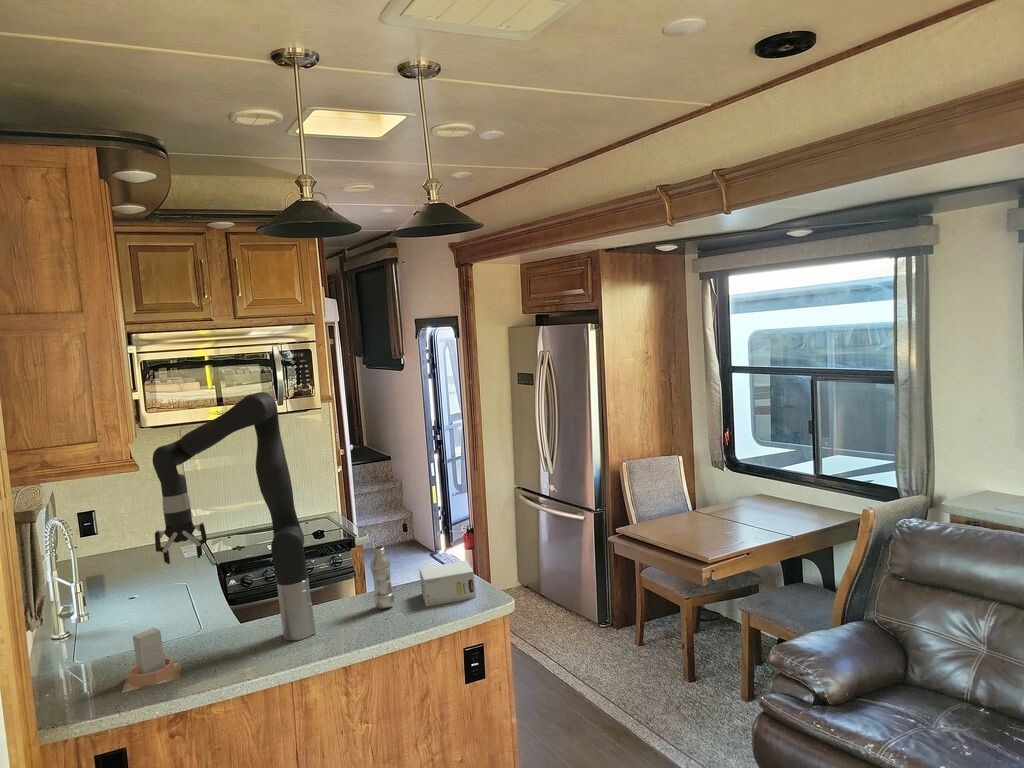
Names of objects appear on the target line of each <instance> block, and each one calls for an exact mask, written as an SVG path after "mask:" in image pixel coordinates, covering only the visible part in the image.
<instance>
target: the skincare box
mask: <svg viewBox="0 0 1024 768" xmlns="http://www.w3.org/2000/svg"><path fill="white" fill-rule="evenodd" d="M132 642H133V648H134V654H135V655H134V656H135V660H136V665H137V668H138V674H147V673H151V672H155V671H157V670H159V669H162V668H164V667H165V666H166V665H165V658H164V657H165V653H164V646H163V640H162V632H161V630H160V629H157V628H156V627H152V628H149V629H147V630H144V631H141V632H139V633H136V634H133V635H132Z"/></svg>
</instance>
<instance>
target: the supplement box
mask: <svg viewBox="0 0 1024 768" xmlns="http://www.w3.org/2000/svg"><path fill="white" fill-rule="evenodd" d="M419 579H420V588H421V594H422V598H423V602H424V604H425V605H424V606H425V607H431V606H432V607H433V606H438V605H444V604H448V603H452V602H458V601H460V602H461V601H464V600H469V599H476V598H477V592H476V584H475V582H476V581H475V575H474V570H473V568H472V566H471V565H470V563H469V562H468V560H463V561H461V560H460V561H457V562H456V561H455V562H451V563H450V562H449V563H444V564H440V565H433V566H426V567H419Z"/></svg>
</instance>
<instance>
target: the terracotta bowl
mask: <svg viewBox="0 0 1024 768" xmlns="http://www.w3.org/2000/svg"><path fill="white" fill-rule="evenodd" d="M164 658H165V665H166V666H165V667H164V668H162V669H159V670H157V671H155V672H151V673H147V674H138V668H137V664H135V665H133V667H131V668H129V672H128V674H129V681H130V684H131V685H133V686H135V687H137V686H148V685H152V684H156V683H159V682H161V681H163V680H165V679H168V678H169V677H170V676H171V675H173V674H174V671H175V666H174V663H175V661H174V658H173V657H170V656H164ZM156 685H157V684H156ZM152 686H153V685H152ZM148 687H149V686H148Z"/></svg>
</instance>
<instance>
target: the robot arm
mask: <svg viewBox="0 0 1024 768" xmlns="http://www.w3.org/2000/svg"><path fill="white" fill-rule="evenodd" d="M278 412H279V411H278V406H277V402H276V400H275V398H274V397H273V396H272V395H271V394H270V393H268V392H266V391H259V392H258V391H257V392H255V393H251V394H250V393H249V394H247V395H246V396H244V397H243V398H242V399H241V400H239V401H238V402H237V403H235V404H234V405H233V406H232V407H230V409H228V410H227V411H225V412H223V413H222V414H221V415H219V416H216V418H214V419H211V420H210V421H207V422H206V423H204V424H202V425H200V426H198V427H196V428H194V429H192V430H190V431H189V432H187V433H186V434H184V435H183V436H181V438H180V439H178V440H176V441H174V442H171V443H168V444H164V445H161V446H158V447H157V448H155V450H154V451H153V453H152V466H153V469H154V471H155V473H156V476H157V478H158V481H159V482H160V488H161V495H162V512H163V517H164V525H165V530H156V531H155V533H154V541H155V542H154V543H155V551H156V552H157V553H158V552H161V553H162V554H163V561H164V563H165V564H167V565H170V564H171V558H170V550H169V548H170V547H171V545H172V544H173V543H175V544H176V543H181V542H187V541H188V540H189V541H190V542H191V543H194V545H195V546H196V547H195V548H196V555H197V559H201V556H203V548H202V545H204V544H206V543H207V541H208V538H207V533H206V528H205V523H204V522H200V523H198V524H194V523H193V516H192V515H193V514H192V509H191V507H192V506H191V501H190V496H189V493H188V486H187V479H186V476H185V475H184V474H181V473H179V471H178V468H177V466H180V465H182V464H183V463H185V462H188V460H190V459H192V458H193V457H195V456H196V455H198V454H201V453H203V452H204V451H206V450H208V449H210V448H212V447H213V446H215V445H217V444H218V443H219V442H221V441H222V440H223V439H225V438H226V437H228V436H229V435H232V434H233V433H235V432H237V431H240V430H242V429H245V428H248V427H249V428H250V427H252V426H253V427H254V431H255V434H256V439H257V442H256V443H257V445H256V454H255V455H256V456H255V457H256V458H255V472H256V477H257V482H258V487H259V490H260V492H261V495H262V498H263V501H264V502H265V505H266V506H267V508H268V511H269V514H270V518H271V523H272V531H273V532H272V533H273V538H272V540H271V543H270V544H271V545H270V549H271V550H270V551H271V558H272V565H273V571H274V576H275V579H276V580H275V581H276V587H277V588H276V589H277V595H278V603H279V610H280V611H279V612H280V618H281V619H280V620H281V627H282V636H283V639H284V640H285V639H286V641H289V640H290V641H291V642H292V640H293V641H300V640H304V639H306V638H309V637H310V636H313V635H317V634H316V625H315V618H314V617H315V616H314V609H313V603H312V599H311V590H310V581H309V573H308V572H309V571H308V567H307V564H306V558H305V557H306V556H305V549H304V548H305V547H304V545H305V535H304V533H303V530H302V527H301V525H300V521H299V519H298V515H297V512H296V508H295V503H294V501H295V499H294V493H293V485H292V479H291V474H290V470H289V465H288V462H287V458H286V454H285V449H284V444H283V441H282V437H281V430H280V421H279V413H278ZM196 530H197V531H198V532H200V536H201V539H199V538H198V537H197V536H196V535H195V534H193V533H194V531H196ZM163 536H165V537H167V538H168V540H167V541H166V543H165V545H164V546H162V545H161V544H162V543H161V539H162V538H163Z"/></svg>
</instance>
